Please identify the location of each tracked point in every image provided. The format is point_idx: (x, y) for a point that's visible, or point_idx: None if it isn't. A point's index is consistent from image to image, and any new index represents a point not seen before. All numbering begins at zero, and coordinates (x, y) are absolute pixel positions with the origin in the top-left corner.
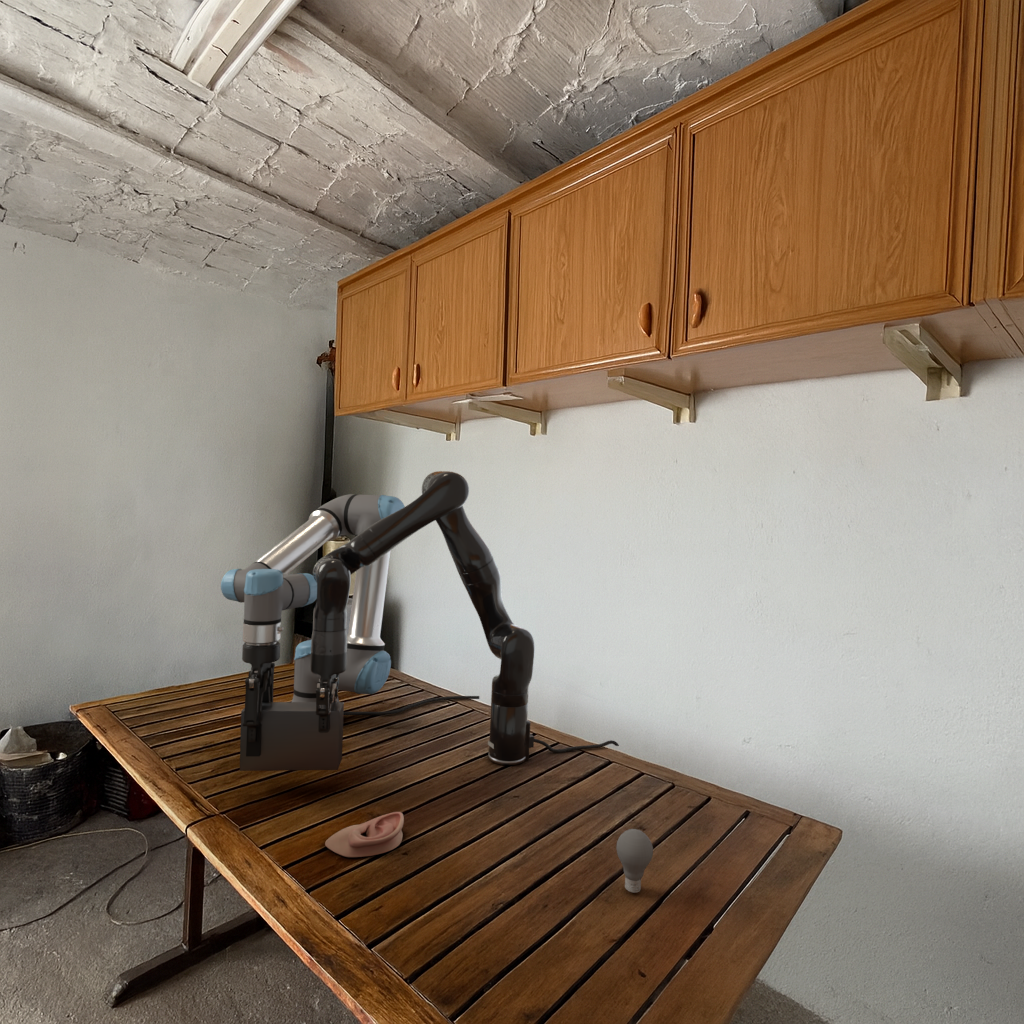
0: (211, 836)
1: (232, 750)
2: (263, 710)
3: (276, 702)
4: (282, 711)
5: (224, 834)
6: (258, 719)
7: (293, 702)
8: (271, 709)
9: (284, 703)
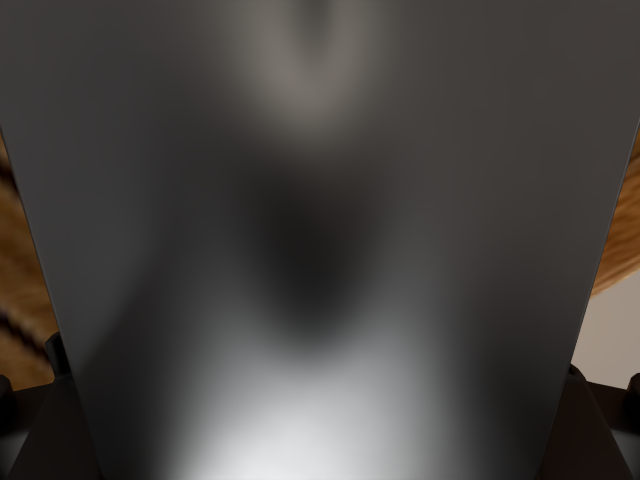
0: (628, 247)
1: (16, 365)
2: (518, 460)
3: (100, 378)
4: (627, 152)
5: (627, 214)
6: (599, 412)
7: (9, 33)
8: (487, 369)
9: (123, 231)
